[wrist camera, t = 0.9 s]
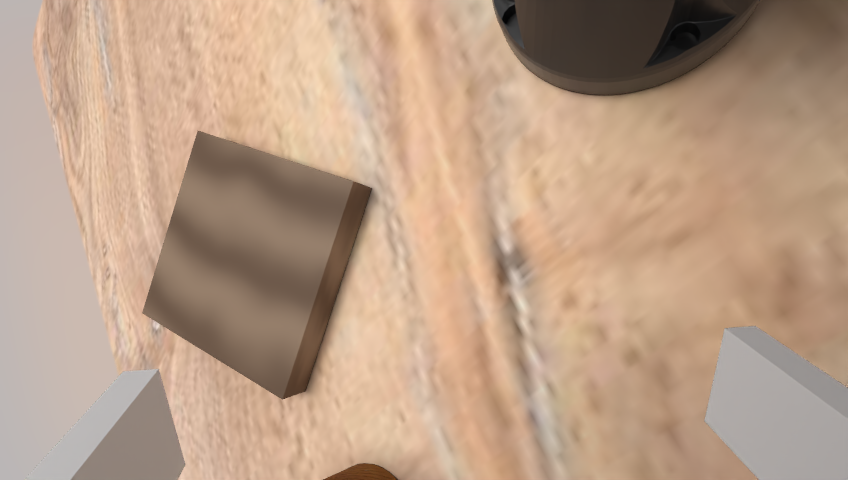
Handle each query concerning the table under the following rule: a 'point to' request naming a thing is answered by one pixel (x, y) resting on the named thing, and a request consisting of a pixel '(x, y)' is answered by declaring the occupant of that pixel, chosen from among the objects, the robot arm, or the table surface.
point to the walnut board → (255, 260)
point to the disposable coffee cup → (363, 473)
